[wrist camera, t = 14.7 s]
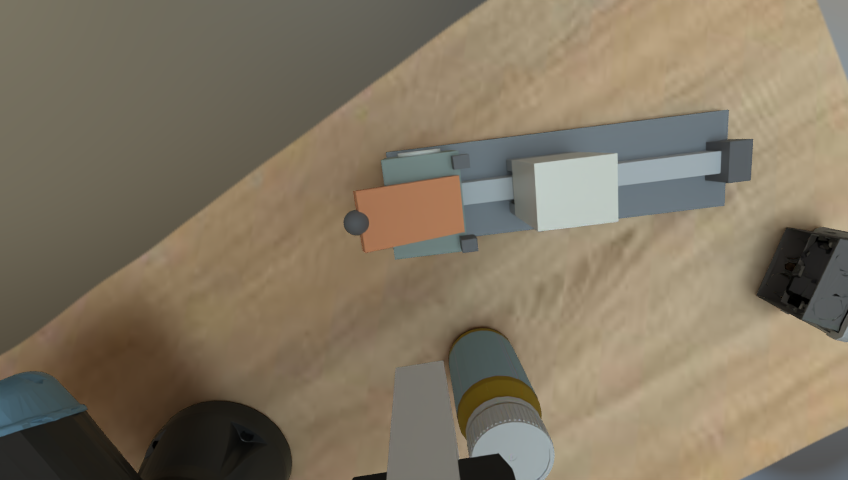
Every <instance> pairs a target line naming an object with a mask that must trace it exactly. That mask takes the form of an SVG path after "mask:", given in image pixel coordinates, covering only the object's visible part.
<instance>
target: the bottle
mask: <svg viewBox="0 0 848 480" xmlns="http://www.w3.org/2000/svg"><path fill="white" fill-rule="evenodd" d="M449 368H450V374H451V381H452V387H453V394H454V400H455V406H456V413H457V419H458V423H459V427H460V430H461V433H462V434H463V436H464V437H465V439H466V440H467V446H468V452H469V458H471V457H478V456H484V455H491V454H497V453H499V454H500V455H501V456H502V457H503V459H504V460H505V461H506V462H507V463H508V464H509V465H510V466H511V468H512V469H513V472H514V475H515V479H516V480H544V479H545V478H546V477H547V475H548V474H549V472H550V471H551V469H552V466H553V463H554V447H553V443H552V440H551V438H550V436H549V434H548V432H547V430H546V427H545V425H544V424H543V421H542V420H541V408H540V403H539V401H538V398H537V396H536V394H535V392H534V390H533V388H532V386H531V384H530V382H529V380H528V378H527V376H526V373H525V371H524V369H523V367H522V365H521V363H520V361H519V359H518V357H517V355H516V353H515V351H514V349H513V347H512V345H511V344H510V342H509V341H508V339H507V338H506V337H505V336H504V335H502V334H501V333H500V332H498V331H495V330H492V329H488V328H478V329H474V330H470V331H468V332H466V333H464V334H462V335H461V336H460V337H459V338H458V339H457V340H456V341H455V342H454V344H453V345H452V348H451V350H450V353H449Z"/></svg>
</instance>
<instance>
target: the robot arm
mask: <svg viewBox="0 0 848 480" xmlns="http://www.w3.org/2000/svg"><path fill="white" fill-rule="evenodd" d="M86 410H88V409H87V407H86V406H85V405H84V404H80V403H79V402H78V401H77V400H76V399H75V398H74V397H73V396H72V395H71V394H70V393H69V392H68V391H67V390H66V389H65V388H64V387H63V386H62V385H61V384H60V383H59V382H58V380H57V379H56V378H54V377H53V376H51V375H49V374H47V373H44V372H37V371H30V372H23V373H19V374H16V375H13V376H10V377H8V378H5V379H3V380H0V480H289V477H290V474H291V466H292V460H291V453H290V449H289V446H288V444H287V441H286V439H285V438H284V436H283V434H282V433H281V431H280V430H279V429H278V428H277V427H276V425H275V424H274V423H272V422H271V421H270V420H269V419H268V418H267V417H265V416H264V415H262V414H261V413H259V412H257V411H255V410H253V409H251V408H249V407H246V406H244V405H240V404H236V403H231V402H223V401H212V402H204V403H199V404H196V405H193V406H190V407H188V408H186V409H184V410H182V411H180V412H179V413H177V414H176V415H175V416H173V417H172V418H171V419H170V420H169V421H168V422H167V423H166V425H165V426H164V427H163V428H162V429H161V430H160V431H159V432H158V434H157V435H156V436H155V437H154V439H153V440H152V442H151V444H150V445H149V447H148V450H147V452H146V455H145V458H144V461H143V463H142V465H141V467H140V470H139V472H138V474H137V472H136V471H135V470H134V469H133V468H132V466H131V465H130V464H129V463H128V462H127V460H126V459H125V458H124V457H123V456H122V454H121V453H120V452H119V451H118V450H117V448H116V447H115V446H114V445H113V444H112V442H111V441H110V440H109V439H108V438H107V436H106V435H105V434H104V433H103V431H102V430H101V429H100V428H99V426H98V425H97V424H96V423H95V421H94V420H93V419H92V418H91V416H90V415H89V414H88V412H87V411H86ZM352 480H516V479H515V475H514V472H513V469H512V468H511V466H510V465H509V464H508V463H507V462H506V461H505V460H504V459H503V457H502V456H501V455H500V454H499V453H497V454H491V455H484V456H478V457H471V458H465V459H459V453H458V446H457V439H456V433H455V427H454V421H453V415H452V409H451V403H450V397H449V391H448V385H447V379H446V373H445V367H444V361H443V360H442V361H436V362H430V363H424V364H417V365H411V366H405V367H398V368H396V372H395V384H394V396H393V408H392V420H391V432H390V444H389V456H388V468H387V472H385V473H378V474H372V475H366V476H359V477H354V478H353V479H352Z"/></svg>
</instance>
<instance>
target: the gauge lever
mask: <svg viewBox="0 0 848 480" xmlns="http://www.w3.org/2000/svg"><path fill="white" fill-rule="evenodd" d="M353 193H354V199H355V206H356V210H353V211H350V212H349V213H348V214H347V215H346V216H345V218H344V227H345V229H346V231H347V232H348V233H350V234H352V235H360V237H361V243H362V249H363V251H364V252H365V253H368V252H373V251H377V250H382V249H387V248H392V247H396V246H401V245H406V244H410V243H415V242H420V241H425V240H429V239H434V238H439V237H443V236H448V235H453V234H458V233H462V232H465V229H464V219H463V209H462V199H461V189H460V180H459V175H452V176H446V177H440V178H433V179H427V180H420V181H414V182H408V183H401V184H395V185H388V186H382V187H376V188H369V189H363V190H356V191H353Z"/></svg>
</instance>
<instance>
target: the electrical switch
mask: <svg viewBox="0 0 848 480" xmlns="http://www.w3.org/2000/svg"><path fill="white" fill-rule="evenodd" d="M794 229H795V228H791V229H790V228H786V230H785V232H784V234H783V236H782V239H781V241H780V243H779V245H778V248H777V250H776V252H775V254H774V257H773V259H772V261H771V263H770V266H769V268H768V270H767V273H766V275H765V277H764V279H763V282H762V284H761V286H760V288H759V291H758V293H757V295H758V297H759V296H761V297H760V298H761V299H763V300H765V301H767V302H769V303H771V304H772V305H774V306H776V307H778V308H780V309H781V311H783V312H785V313H787V314H791V315H793V316H795V317H797V318H798V319H800V320H803V321H805V322H806V323H808V324H810V325H812V326H814V327H816V328H818V329H820V330H821V331H823V332H825V333H827V334H826V335H827V336H829V337H831V338H833V339H835V340H839V341H843V342H848V232H846V231H840V230H835V229H830V228H826V227H819V228H816V229H814V231H813V232H810V231H805V230H800V229H795V230H794ZM809 237H810V238H809ZM808 238H809V240H808ZM785 255H786V256H787V257H789V258H798V257H800V256H801V257H800V258H798V259H789V258H787V257H786V256H785ZM788 262H789V263H796V266H795V268H794V269H793V271H792V272H791V271H789V270H786V269H785V266H784V265H785V264H786V263H788ZM777 273H784V274H786V275H788V276H789V278H788V277H787V276H785V275H782V274H777ZM773 274H774V275H773ZM784 291H785V292H784ZM774 292H777V293H774ZM780 296H783V297H782V299H781V297H780ZM763 297H764V298H763ZM767 298H768V299H767Z"/></svg>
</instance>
